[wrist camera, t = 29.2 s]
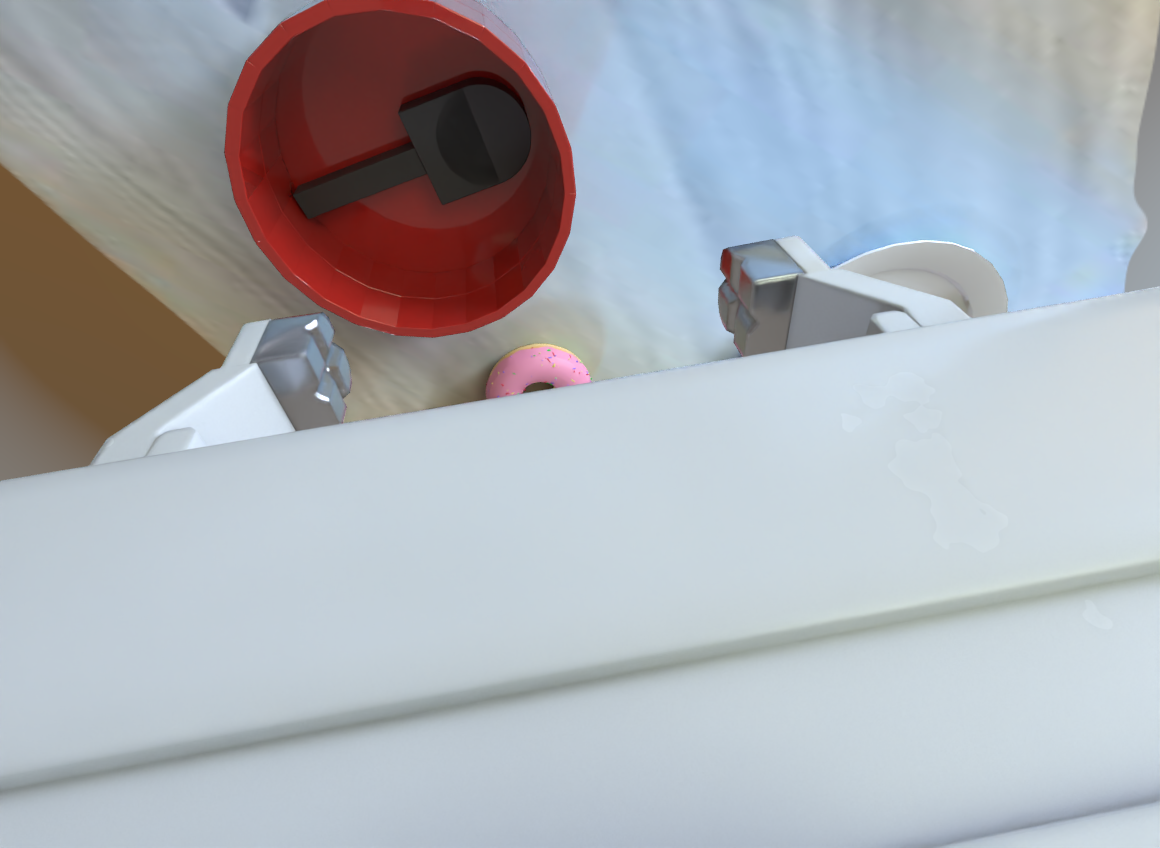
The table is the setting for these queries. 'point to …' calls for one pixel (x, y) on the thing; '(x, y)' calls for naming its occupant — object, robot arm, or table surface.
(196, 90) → the table surface
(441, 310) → the pot
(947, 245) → the plated food
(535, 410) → the robot arm
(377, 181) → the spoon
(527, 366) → the doughnut
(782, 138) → the table surface
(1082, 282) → the table surface
